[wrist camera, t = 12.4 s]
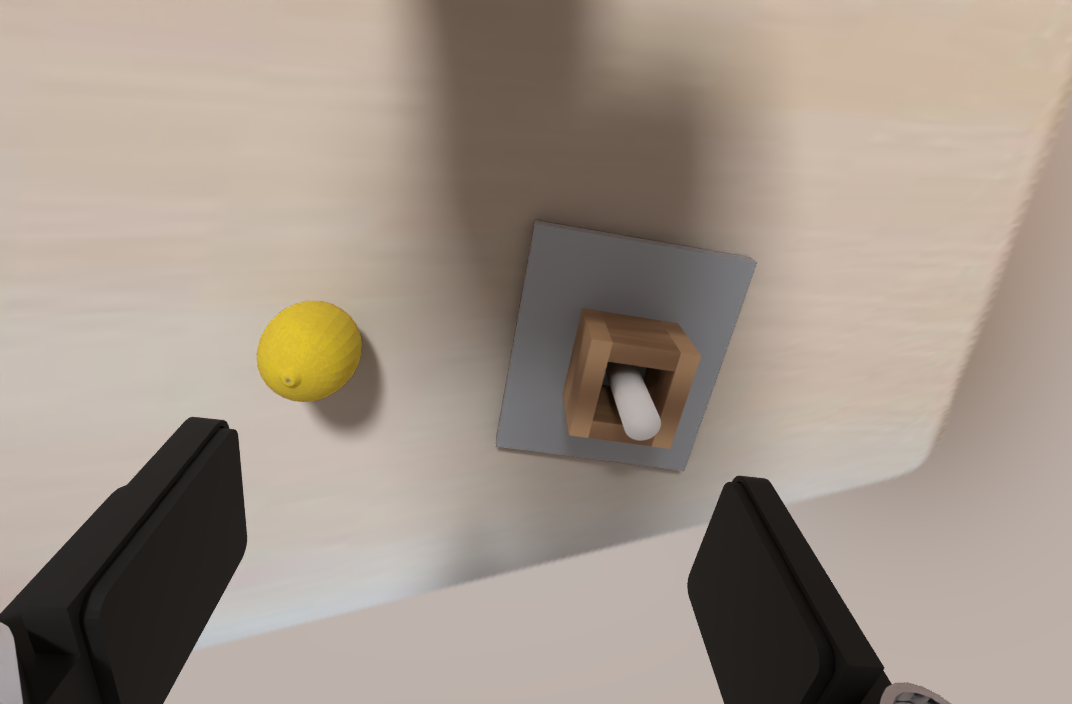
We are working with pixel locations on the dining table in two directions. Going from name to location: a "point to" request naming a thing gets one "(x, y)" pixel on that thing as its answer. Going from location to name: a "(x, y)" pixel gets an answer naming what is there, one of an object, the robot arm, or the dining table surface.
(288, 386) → the lemon
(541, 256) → the grey peg board
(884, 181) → the dining table surface
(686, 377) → the brown wooden hollow block
